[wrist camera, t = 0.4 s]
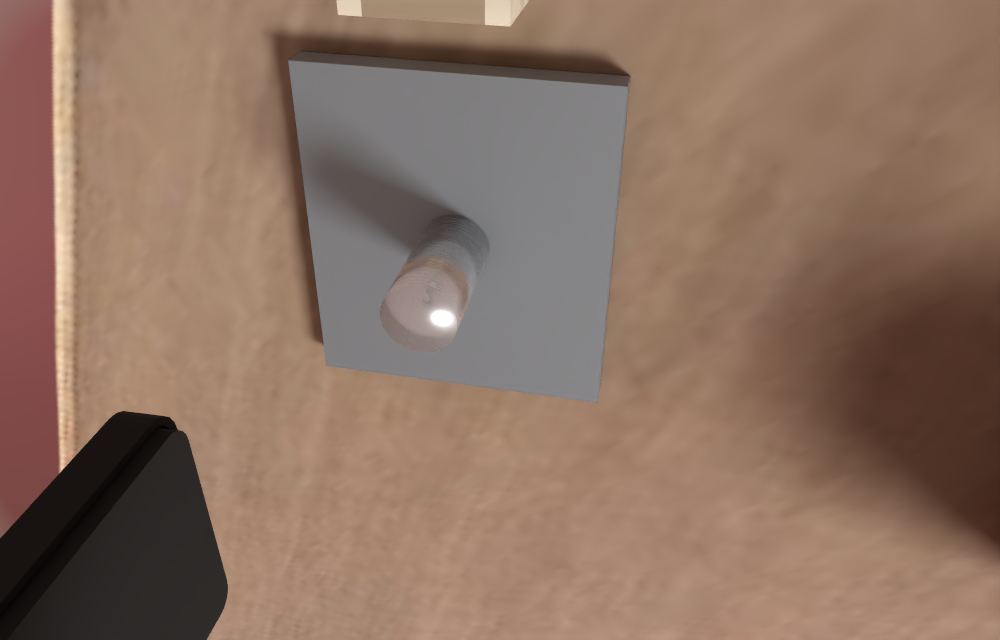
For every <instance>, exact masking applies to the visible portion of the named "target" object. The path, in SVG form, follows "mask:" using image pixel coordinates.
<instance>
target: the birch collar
mask: <svg viewBox="0 0 1000 640" xmlns="http://www.w3.org/2000/svg"><path fill="white" fill-rule="evenodd" d="M528 1H529V0H337V9H338V15H349V16H363V17H378V18H393V19H408V20H422V21H437V22H452V23H467V24H481V25H496V26H511V25H512V23H513V22H514V21H515V19H516V18H517V16H518V15H519V14H520V12H521V11H522V9H523V8H524V7H525V5H526V4H527V2H528Z"/></svg>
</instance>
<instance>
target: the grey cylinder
mask: <svg viewBox="0 0 1000 640" xmlns="http://www.w3.org/2000/svg"><path fill="white" fill-rule="evenodd" d="M489 254H490V245H489V241H488V238H487V236H486V234H485V232H484V231H483V230H482V228H481V227H480V226H479V225H478V224H477V223H475V222H474V221H472V220H470V219H469V218H466V217H464V216H460V215H453V214H449V215H443V216H440V217H437V218H435V219H434V220H432V221H431V222H430V223H429V224H428V225H427V227H426V228H425V230H424V231H423V233H422V235H421V237H420V238H419V240H418V242H417V243H416V245H415V247H414V248H413V250H412V252H411V253H410V255H409V257H408V258H407V260H406V262H405V264H404V265H403V267H402V269H401V270H400V272H399V274H398V275H397V277H396V279H395V280H394V282H393V284H392V285H391V287H390V289H389V291H388V292H387V294H386V296H385V297H384V299H383V301H382V303H381V306H380V319H381V323H382V325H383V328H384V329H385V331H386V332H387V334H388V335H389V336H390V337H391V338H392V339H393V340H394V341H395V342H396V343H398V344H399V345H401V346H403V347H404V348H407V349H409V350H412V351H416V352H424V353H426V352H435V351H438V350H441V349H443V348H444V347H446V346H447V345H448V344H450V342H451V341H452V340H453V338H454V337H455V334H456V332H457V330H458V327H459V325H460V323H461V320H462V318H463V316H464V314H465V311H466V309H467V307H468V304H469V302H470V300H471V297H472V295H473V293H474V291H475V288H476V286H477V284H478V281H479V279H480V277H481V274H482V272H483V270H484V268H485V265H486V263H487V261H488V258H489Z"/></svg>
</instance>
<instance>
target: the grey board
mask: <svg viewBox="0 0 1000 640" xmlns="http://www.w3.org/2000/svg"><path fill="white" fill-rule="evenodd" d="M288 64H289V72H290V80H291V88H292V96H293V104H294V112H295V120H296V128H297V136H298V144H299V152H300V160H301V168H302V176H303V184H304V192H305V200H306V208H307V216H308V224H309V232H310V240H311V248H312V256H313V264H314V272H315V280H316V288H317V296H318V304H319V312H320V319H321V327H322V335H323V343H324V351H325V359H326V366H332V367H339V368H346V369H354V370H361V371H368V372H376V373H383V374H390V375H398V376H405V377H412V378H420V379H427V380H434V381H442V382H449V383H456V384H464V385H471V386H478V387H486V388H493V389H500V390H507V391H515V392H522V393H529V394H537V395H544V396H551V397H559V398H566V399H573V400H581V401H588V402H595V403H598V398H599V392H600V386H601V376H602V366H603V355H604V345H605V335H606V324H607V314H608V304H609V294H610V283H611V273H612V263H613V252H614V242H615V232H616V221H617V211H618V201H619V190H620V180H621V170H622V159H623V149H624V139H625V128H626V118H627V108H628V97H629V87H630V77H631V76H622V75H609V74H595V73H582V72H569V71H556V70H542V69H529V68H516V67H503V66H489V65H476V64H463V63H450V62H436V61H423V60H410V59H397V58H384V57H370V56H357V55H344V54H331V53H317V52H304V51H300V52H299V53H297V54H296V55H295V56H293V57H292V58H291V59H289V60H288ZM449 214H453V215H460V216H464V217H466V218H469V219H470V220H472V221H474V222H475V223H477V224H478V225H479V226H480V227H481V228H482V230H483V231H484V232H485V234H486V236H487V238H488V241H489V245H490V254H489V258H488V261H487V263H486V265H485V268H484V270H483V272H482V274H481V277H480V279H479V281H478V284H477V286H476V288H475V291H474V293H473V295H472V297H471V300H470V302H469V304H468V307H467V309H466V311H465V314H464V316H463V318H462V320H461V323H460V325H459V327H458V330H457V332H456V334H455V337H454V338H453V340H452V341H451V342H450V344H448V345H447V346H446V347H444V348H443V349H441V350H438V351H435V352H426V353H424V352H416V351H412V350H409V349H407V348H404V347H403V346H401V345H399V344H398V343H396V342H395V341H394V340H393V339H392V338H391V337H390V336H389V335H388V334H387V332H386V331H385V329H384V328H383V325H382V323H381V319H380V306H381V303H382V301H383V299H384V297H385V296H386V294H387V292H388V291H389V289H390V287H391V285H392V284H393V282H394V280H395V279H396V277H397V275H398V274H399V272H400V270H401V269H402V267H403V265H404V264H405V262H406V260H407V258H408V257H409V255H410V253H411V252H412V250H413V248H414V247H415V245H416V243H417V242H418V240H419V238H420V237H421V235H422V233H423V231H424V230H425V228H426V227H427V225H428V224H429V223H430V222H431V221H432V220H434V219H435V218H437V217H440V216H443V215H449Z"/></svg>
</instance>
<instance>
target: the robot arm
mask: <svg viewBox="0 0 1000 640" xmlns="http://www.w3.org/2000/svg"><path fill="white" fill-rule="evenodd" d="M227 593H228V584H227V579H226V575H225V572H224V568H223V564H222V561H221V557H220V553H219V550H218V546H217V542H216V539H215V535H214V531H213V528H212V524H211V520H210V517H209V513H208V509H207V506H206V502H205V498H204V495H203V491H202V487H201V484H200V480H199V476H198V473H197V469H196V465H195V462H194V458H193V455H192V451H191V447H190V444H189V440H188V438H187V435H186V434H185V433H184V432H183V431H179V430H178V429H177V427H176V425H175V422H174V421H173V420H172V419H171V418H170V417H165V416H158V415H150V414H142V413H134V412H126V411H122V412H119V413H116V414H115V415H113V416H112V417H111V418H110V419H109V420H108V421H107V422H106V423H105V424H104V425H103V426H102V428H101V429H100V430H99V431H98V432H97V433H96V434H95V435H94V436H93V437H92V438H91V440H90V441H89V442H88V443H87V444H86V445H85V446H84V447H83V448H82V449H81V451H80V452H79V453H78V454H77V455H76V456H75V457H74V458H73V459H72V460H71V462H70V463H69V464H68V465H67V466H66V467H65V468H64V469H63V470H62V471H61V472H60V474H59V475H58V476H57V477H56V478H55V479H54V480H53V481H52V482H51V484H50V485H49V486H48V487H47V488H46V489H45V490H44V491H43V492H42V493H41V495H40V496H39V497H38V498H37V499H36V500H35V501H34V502H33V503H32V504H31V505H30V507H29V508H28V509H27V510H26V511H25V512H24V513H23V514H22V515H21V516H20V518H19V519H18V520H17V521H16V522H15V523H14V524H13V525H12V526H11V527H10V528H9V530H8V531H7V532H6V533H5V534H4V535H3V536H2V537H1V538H0V640H207V638H208V636H209V634H210V633H211V631H212V629H213V627H214V626H215V624H216V622H217V620H218V619H219V617H220V615H221V613H222V611H223V609H224V606H225V603H226V599H227Z"/></svg>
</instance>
